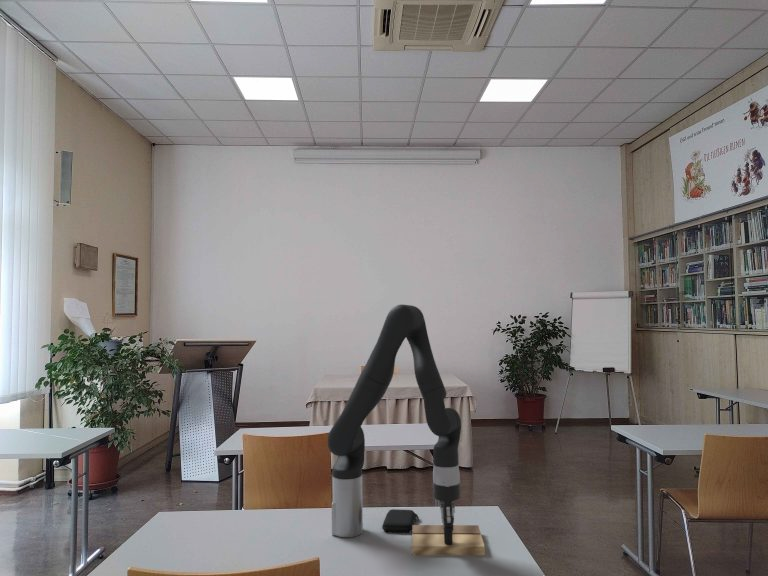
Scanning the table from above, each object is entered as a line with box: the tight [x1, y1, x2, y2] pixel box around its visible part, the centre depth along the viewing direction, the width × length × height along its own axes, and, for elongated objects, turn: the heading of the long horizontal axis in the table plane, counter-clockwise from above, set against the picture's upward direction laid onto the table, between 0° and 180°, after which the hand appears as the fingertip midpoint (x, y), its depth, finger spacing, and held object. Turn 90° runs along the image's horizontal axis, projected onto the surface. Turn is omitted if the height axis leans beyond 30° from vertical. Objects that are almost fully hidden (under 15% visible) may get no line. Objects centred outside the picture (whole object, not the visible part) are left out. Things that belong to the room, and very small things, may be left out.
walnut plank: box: [411, 524, 482, 536], centre depth 162 cm, size 20×6×2 cm, turn 87°
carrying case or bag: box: [381, 508, 419, 534], centre depth 172 cm, size 11×3×15 cm
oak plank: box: [411, 534, 486, 556], centre depth 154 cm, size 20×8×2 cm, turn 87°
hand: (448, 543), depth 152 cm, fingers closed
